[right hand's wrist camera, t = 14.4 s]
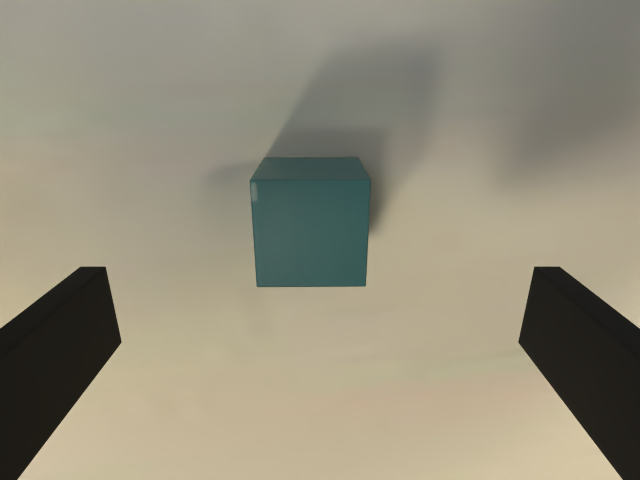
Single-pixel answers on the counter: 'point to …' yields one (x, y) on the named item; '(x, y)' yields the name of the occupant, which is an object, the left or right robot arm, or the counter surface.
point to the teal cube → (310, 222)
